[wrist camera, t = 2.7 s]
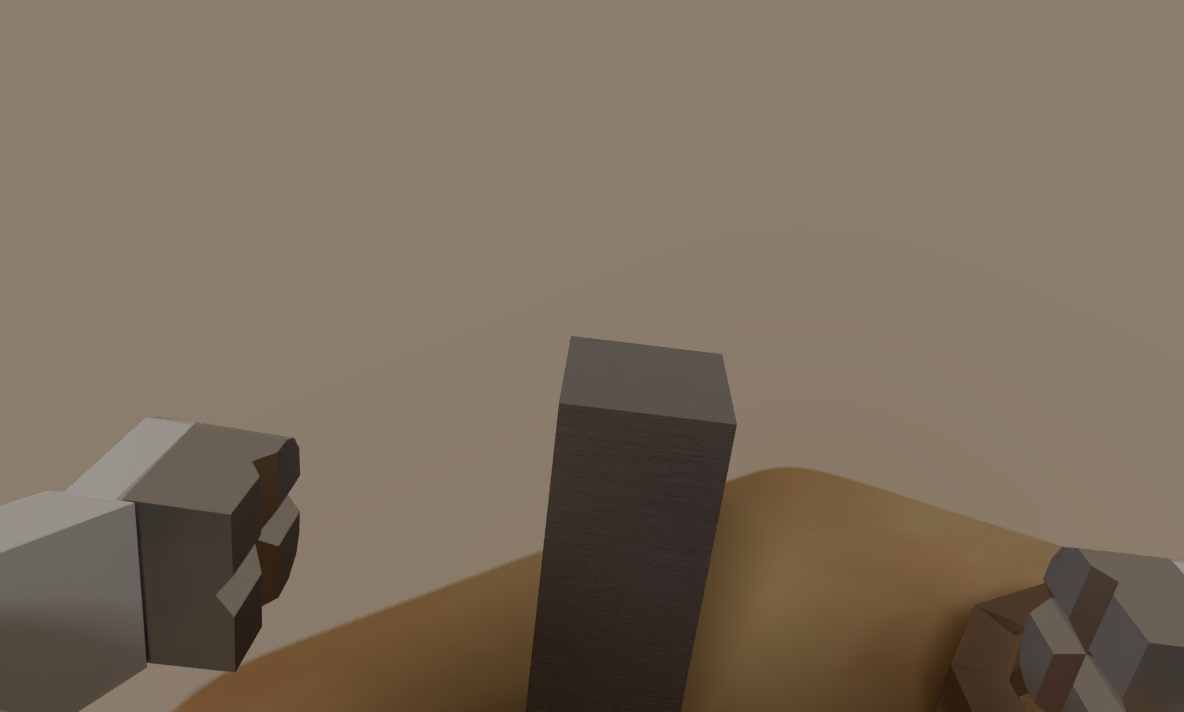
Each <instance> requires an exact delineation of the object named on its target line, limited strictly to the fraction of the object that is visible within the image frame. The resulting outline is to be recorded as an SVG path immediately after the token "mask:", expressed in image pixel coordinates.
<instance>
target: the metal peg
mask: <svg viewBox="0 0 1184 712" xmlns="http://www.w3.org/2000/svg"><path fill="white" fill-rule="evenodd" d="M736 426H737V423H736V418H735V414H734V409H733V404H732V400H731V395H730V390H729V385H728V380H727V376H726V371H725V366H724V361H723V357H722V354H715V353H706V352H699V351H691V350H682V349H674V348H666V347H657V346H649V345H641V344H633V343H624V342H616V341H607V340H599V339H592V338H583V337H575V336H571V340H570V346H569V351H568V357H567V362H566V368H565V373H564V379H563V385H562V390H561V396H560V401H559V409H558V418H557V427H556V437H555V447H554V456H553V465H552V474H551V483H550V492H549V502H548V510H547V520H546V529H545V538H544V547H543V556H542V566H541V575H540V584H539V593H538V602H537V612H536V621H535V630H534V639H533V648H532V658H531V667H530V676H529V685H528V694H527V704H526V712H680V711H681V706H682V701H683V696H684V691H685V685H686V680H687V675H688V670H689V665H690V660H691V655H692V650H693V645H694V640H695V635H696V630H697V624H698V619H699V614H700V609H701V604H702V599H703V594H704V589H705V584H706V579H707V574H708V568H709V563H710V558H711V553H712V548H713V543H714V538H715V533H716V528H717V523H718V518H719V513H720V507H721V502H722V497H723V492H724V487H725V482H726V477H727V472H728V467H729V462H730V457H731V451H732V446H733V441H734V436H735V431H736Z"/></svg>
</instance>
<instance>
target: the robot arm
mask: <svg viewBox="0 0 1184 712" xmlns="http://www.w3.org/2000/svg"><path fill="white" fill-rule="evenodd" d="M299 462H300V461H299V447H298V445H297V443H296V441H295V439H294V438H292V437H285V436H279V435H273V434H267V433H260V432H254V431H248V430H241V429H235V428H229V427H223V426H216V425H210V424H200V423H198V422H195V421H186V420H178V419H170V418H162V417H147V418H145V419H144V420H142V421H141V422H140V423H139V424H138V425H137V426H136V427H135V428H134V429H132V430H131V431H130V432H129V433H128V434H127V435H126V436H125V437H124V438H123V439H121V440H120V441H119V442H118V443H117V444H116V445H115V446H114V447H113V448H112V449H110V450H109V451H108V452H107V453H106V454H105V455H104V456H103V457H102V458H101V459H99V461H97V463H95V464H94V465H93V466H92V467H91V468H90V469H89V470H87V471H86V472H85V473H84V474H83V475H82V476H81V477H80V478H79V479H78V480H76V481H75V482H74V483H73V484H72V485H71V486H70V487H69V488H68V489H67V490H65V491H64V492H55V491H44V492H41V493H38V494H35V495H32V496H29V497H25V498H22V499H19V500H16V501H13V502H10V503H7V504H3V505H0V712H79V711H80V710H82V709H83V708H85V707H86V706H88V705H89V704H91V703H93V702H94V701H96V700H97V699H99V698H100V697H102V696H103V695H105V694H106V693H108V692H110V691H111V690H113V689H114V688H116V687H117V686H119V685H120V684H122V683H124V682H125V681H126V680H128V679H130V678H131V677H133V676H134V675H136V674H137V673H139V672H140V671H142V670H143V669H145V668H146V667H147V663H153V664H162V665H172V666H181V667H190V668H199V669H208V670H218V671H226V672H236V670H237V669H238V667H239V665H240V664H241V662H242V660H243V658H244V656H245V655H246V653H247V651H248V650H249V648H250V646H251V644H252V643H253V641H254V639H255V638H256V636H257V634H258V632H259V631H260V629H261V627H262V606H263V605H265V604H267V603H269V602H271V601H273V600H275V599H277V598H278V597H279V595H280V594H281V592H282V590H283V588H284V586H285V584H286V582H287V580H288V578H289V575H290V571H291V568H292V565H293V562H294V559H295V556H296V552H297V544H298V536H299V522H300V521H299V520H300V511H299V510H298V508H297V507H296V506H295V504H294V503H293V501H292V500H291V499H290V497H289V496H288V493H289V491H290V490H291V488H292V487H293V485H294V484H295V482H296V481H297V479H298V478H299V476H300V463H299ZM1043 580H1044V582H1045V585H1046V587H1047V590H1048V592H1049V595H1050V597H1051V598H1050V599H1048V600H1047V601H1045V602H1044V603H1043V604H1041V605H1040V606H1038V607H1037V608H1036V609H1034V610H1033V611H1031V612H1030V613H1029V616H1028V619H1027V622H1026V624H1025V627H1024V630H1023V633H1022V636H1021V641H1020V667H1021V671H1022V676H1023V680H1024V684H1025V686H1026V688H1027V690H1028V692H1029V694H1030V696H1031V698H1032V700H1033V702H1034V703H1035V704H1037V705H1038V706H1039V707H1040V708H1042V709H1043V710H1044V711H1046V712H1184V560H1177V559H1167V558H1158V557H1149V556H1141V555H1133V554H1124V553H1115V552H1106V551H1097V550H1089V549H1080V548H1068V547H1062V548H1061V549H1060V550H1059V551H1058V552H1057V554H1056V555H1055V556H1054V557H1053V558H1052V559H1051V561H1050V564H1049V566H1048V569H1047V571H1046V573H1045V576H1044V578H1043Z"/></svg>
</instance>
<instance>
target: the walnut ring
mask: <svg viewBox="0 0 1184 712" xmlns="http://www.w3.org/2000/svg"><path fill="white" fill-rule="evenodd" d="M1050 598H1051V597H1050V595H1049V592H1048V590H1047V587H1046V585H1045V583H1044V584H1041V585H1038V586H1034V587H1031V588H1028V589H1025V590H1022V591H1018V592H1015V593H1012V594H1009V595H1006V596H1003V597H999V598H996V599H993V600H990V601H987V602H983V603H980V604H977V605H975V607H974V609H973V611H972V614H971V616H970V619H969V621H968V623H967V626H966V628H965V631H964V633H963V635H962V638H961V640H960V643H959V645H958V648H957V650H956V652H955V655H954V657H953V660H952V662H951V665H950V668H949V670H948V673H947V676H946V679H945V682H944V685H943V688H942V691H941V694H940V697H939V700H938V703H937V706H936V709H935V712H1025V711H1024V709H1023V707H1022V705H1021V703H1020V701H1019V699H1018V696H1021V695H1023V694H1026V693H1028V690H1027V688H1026V686H1025V684H1024V680H1023V676H1022V671H1021V667H1020V641H1021V636H1022V633H1023V630H1024V627H1025V624H1026V622H1027V619H1028V616H1029V613H1030V612H1031V611H1033V610H1034V609H1036V608H1037V607H1038V606H1040V605H1041V604H1043V603H1044V602H1045V601H1047V600H1048V599H1050Z"/></svg>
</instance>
